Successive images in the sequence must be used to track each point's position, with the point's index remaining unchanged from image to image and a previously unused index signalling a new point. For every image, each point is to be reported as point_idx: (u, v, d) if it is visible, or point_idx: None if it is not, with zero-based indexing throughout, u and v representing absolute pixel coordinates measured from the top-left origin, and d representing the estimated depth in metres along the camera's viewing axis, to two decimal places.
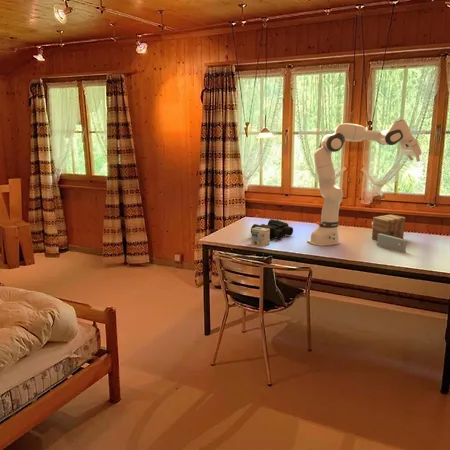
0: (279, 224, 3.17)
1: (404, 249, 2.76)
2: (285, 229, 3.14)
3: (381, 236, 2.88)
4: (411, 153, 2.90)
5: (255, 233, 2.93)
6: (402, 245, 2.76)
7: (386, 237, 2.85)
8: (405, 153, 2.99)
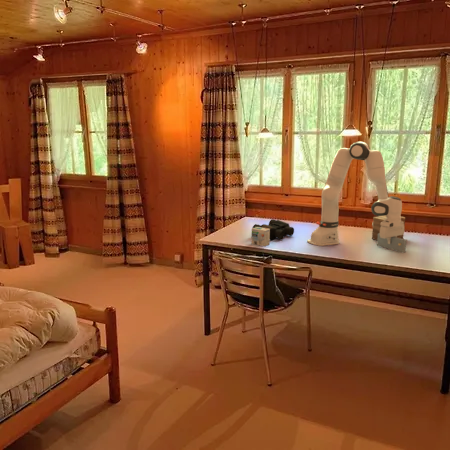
0: (280, 224, 3.17)
1: (404, 249, 2.76)
2: (286, 229, 3.13)
3: None
4: None
5: (255, 233, 2.93)
6: (402, 245, 2.76)
7: None
8: None
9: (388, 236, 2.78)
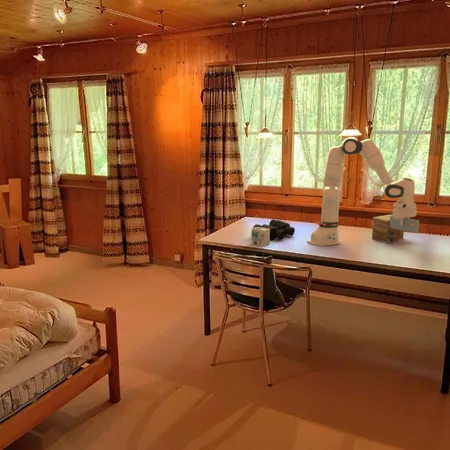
0: (281, 224, 3.16)
1: (417, 230, 2.79)
2: (287, 229, 3.13)
3: None
4: None
5: (255, 233, 2.93)
6: (415, 225, 2.79)
7: None
8: None
9: (401, 217, 2.82)
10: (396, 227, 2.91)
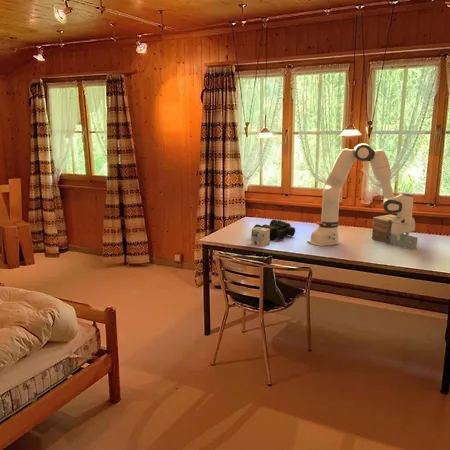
0: (281, 224, 3.16)
1: (415, 246, 2.82)
2: (287, 229, 3.13)
3: (392, 234, 2.94)
4: None
5: (255, 233, 2.93)
6: (413, 242, 2.81)
7: None
8: None
9: (399, 232, 2.84)
10: (394, 243, 2.94)
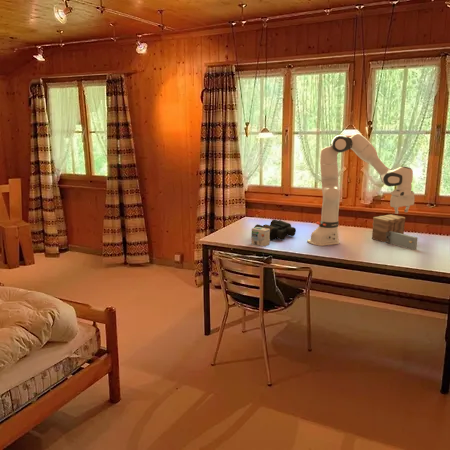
0: (282, 224, 3.16)
1: (415, 246, 2.82)
2: (288, 229, 3.12)
3: (392, 234, 2.94)
4: None
5: (255, 233, 2.93)
6: (413, 242, 2.81)
7: (397, 235, 2.91)
8: None
9: (398, 205, 2.82)
10: (394, 243, 2.94)
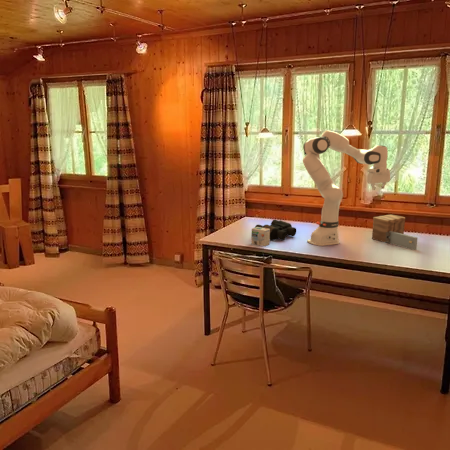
0: (282, 224, 3.16)
1: (415, 246, 2.82)
2: (288, 230, 3.12)
3: (392, 234, 2.94)
4: None
5: (254, 233, 2.93)
6: (413, 242, 2.81)
7: (397, 235, 2.91)
8: None
9: (375, 182, 3.00)
10: (394, 243, 2.94)
